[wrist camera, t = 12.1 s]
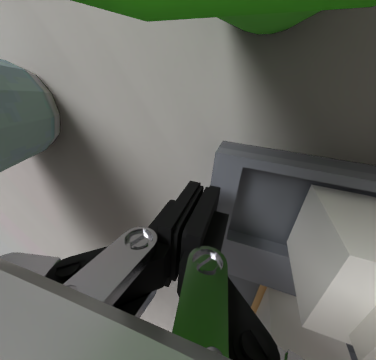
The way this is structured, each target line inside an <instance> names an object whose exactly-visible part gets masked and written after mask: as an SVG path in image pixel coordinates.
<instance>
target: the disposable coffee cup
mask: <svg viewBox="0 0 376 360" xmlns="http://www.w3.org/2000/svg"><path fill="white" fill-rule="evenodd" d="M59 134H60V114H59V111H58V109H57V106H56V104H55V101H54V99H53V96H52V94H51V92H50V91H49V90H48V89H47V88H46V86H45V85H44V84H43V83H42V82H41V80H40V79H39V78H38V77H37V76H36V75H35V74H33V73H31V72H29V71H27V70H25V69H23V68H20V67H18V66H16V65H14V64H12V63H10V62H8V61H6V60H2V59H0V172H1V171H3V170H5V169H7V168H9V167H12V166H14V165H16V164H18V163H20V162H22V161H24V160H26V159H28V158H30V157H32V156H34V155H36V154H38V153H40V152H42V151H44V150H46V149H47V148H48V146H49V145H50V144H52V143H53V142H54V140H55V139H56V138H57V136H58V135H59Z"/></svg>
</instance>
